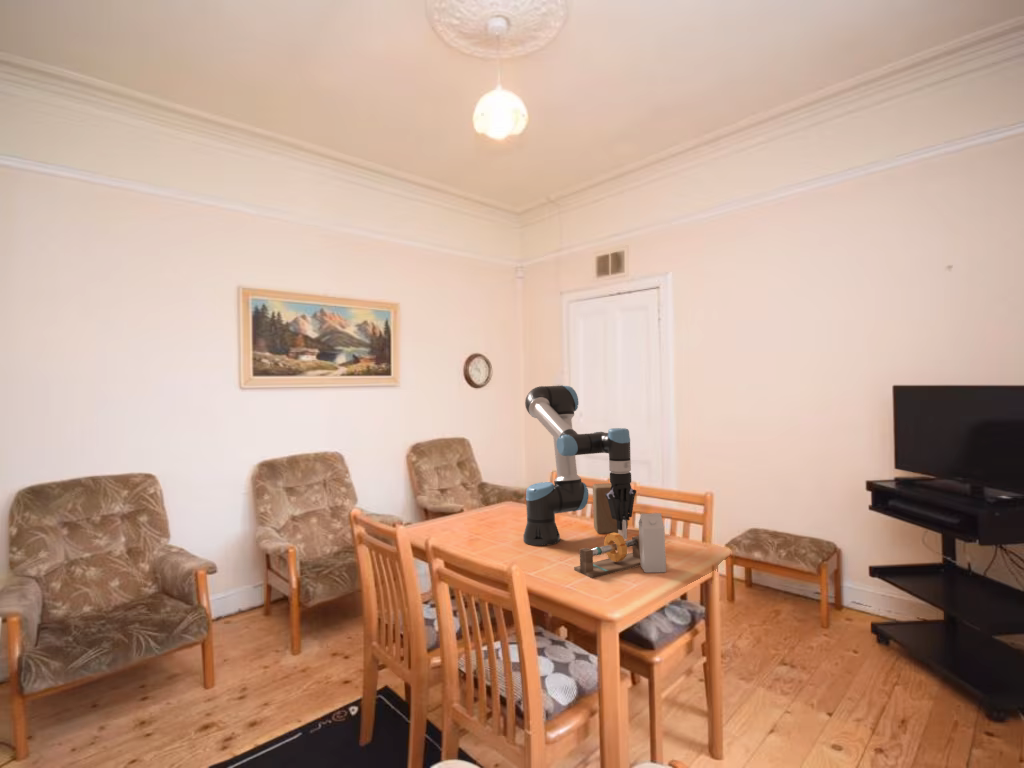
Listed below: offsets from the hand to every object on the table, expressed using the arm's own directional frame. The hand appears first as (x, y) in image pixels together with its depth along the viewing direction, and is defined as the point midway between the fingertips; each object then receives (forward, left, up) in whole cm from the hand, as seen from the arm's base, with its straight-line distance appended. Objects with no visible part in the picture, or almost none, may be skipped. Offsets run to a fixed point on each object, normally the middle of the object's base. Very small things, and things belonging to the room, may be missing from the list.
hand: (622, 538), depth 182 cm
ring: (0, -4, -7) cm, 8 cm away
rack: (0, -5, -9) cm, 10 cm away
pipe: (0, -5, -4) cm, 6 cm away
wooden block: (-36, +23, -9) cm, 44 cm away
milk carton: (+10, +4, -9) cm, 14 cm away
